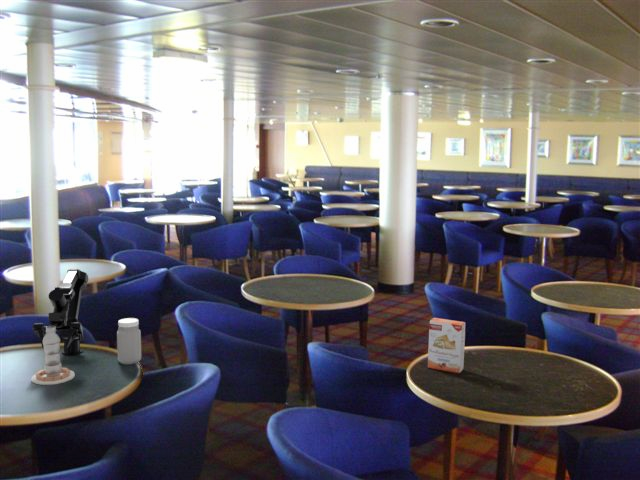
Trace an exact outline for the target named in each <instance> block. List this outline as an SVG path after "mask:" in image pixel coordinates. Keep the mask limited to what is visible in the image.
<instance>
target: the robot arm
mask: <svg viewBox="0 0 640 480" xmlns="http://www.w3.org/2000/svg"><path fill="white" fill-rule="evenodd" d="M88 282H89V275H88V273H87V272H85V271H82V270H81V269H79V268H69V269H67V271H66V275H65V278H64V279H63V281H62V283H60V284H57V285H56V287H54V289H52V290H51V291H50V292H49V293H48V300H49V301H50V303H51V306H52V307H53V312H48V315H47V316H48V319H47V321H48V322H49V324H48V325H50V326H56V332H59V337H60V342H63V351H62V352H61V355H62V354H63V355H67V356H75V355H78V354H81V353H83V352H84V350H82V349H81V341H82V340H84V333H83V331H84V327H83V325H82V322H81V321H80V322H79V321H78V318H79V311H80V305H81V300H82V299H81V298H82V292H83V291H85V289H86V288H87V284H88ZM68 301H69V302H68ZM48 325H45V324H44V323H43V322H35V323H33V324H32V326H31V327H32V328H31V330H32V331H33V334H34V335H35V336H37V338H40V343H41V348H42V349H44V346H43V338H44V336H45V335H46V333H47V332H46V327H47V326H48Z"/></svg>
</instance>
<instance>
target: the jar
mask: <svg viewBox="0 0 640 480" xmlns="http://www.w3.org/2000/svg"><path fill="white" fill-rule="evenodd" d="M139 322H140V321H139V319H138V318H135V317H127V318H126V317H125V318H121V319H119V320H118V322H117V325H118V328H117V331H116V346H117V347H116V348H117V351H116V352H117V361H118V362H119V363H120V364H121V365H122V364H123V365H133V364H137V363H139V362H140V361H141V360H142V334H141V333H142V332H141V331H142V330H141V329H139V327H140V326H139V325H140V323H139Z"/></svg>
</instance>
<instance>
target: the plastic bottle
mask: <svg viewBox="0 0 640 480" xmlns="http://www.w3.org/2000/svg"><path fill="white" fill-rule="evenodd" d="M46 326H47V327H46V334H45V336H44V338H43V346H44V348H43V350H44V367H43V368H44V372H45V375H46V376H49V377H53V376H58V375H60V374H61V372H62V367H63V366H62V363H61V356H60V346H61V339H60V335H58V333H57V331H56V326H51V325H46Z"/></svg>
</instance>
